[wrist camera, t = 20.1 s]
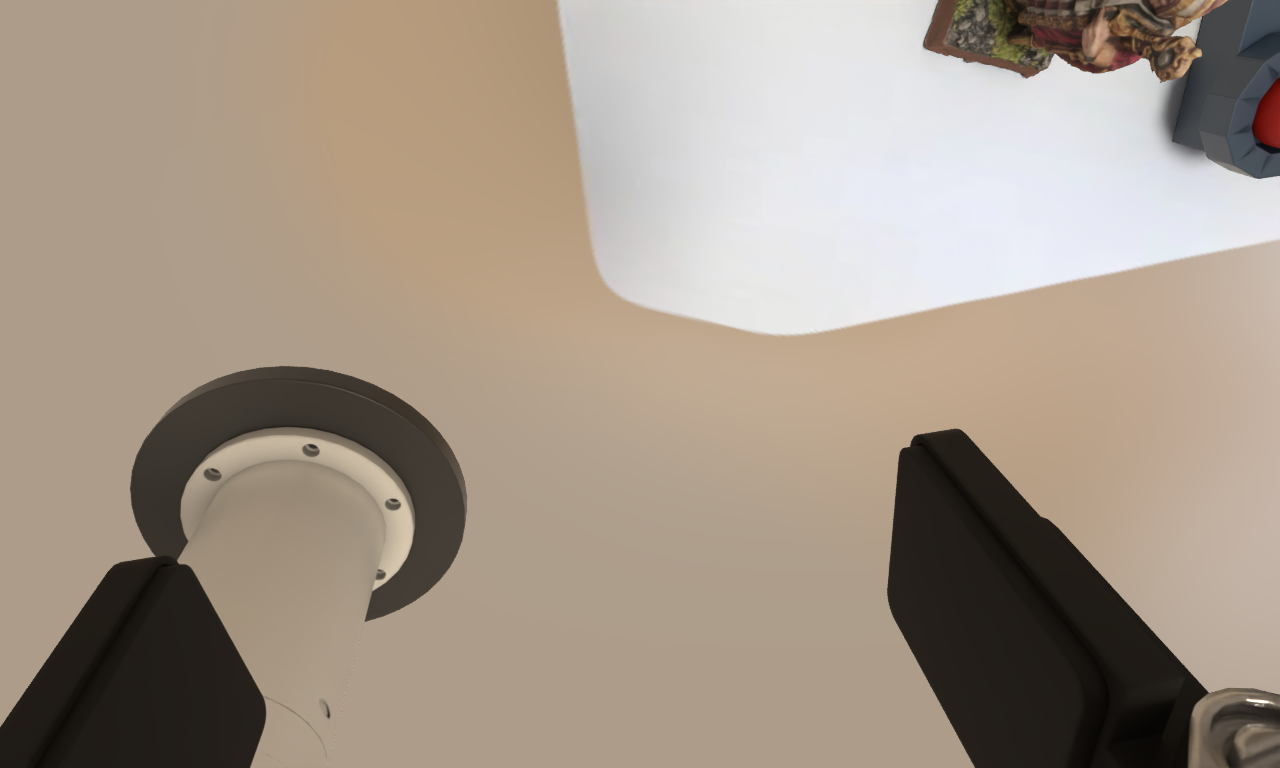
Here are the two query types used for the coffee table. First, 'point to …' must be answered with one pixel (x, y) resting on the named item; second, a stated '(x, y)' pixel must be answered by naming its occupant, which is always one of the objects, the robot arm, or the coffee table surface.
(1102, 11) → the figurine
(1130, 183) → the coffee table surface
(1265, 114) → the button
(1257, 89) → the button box
